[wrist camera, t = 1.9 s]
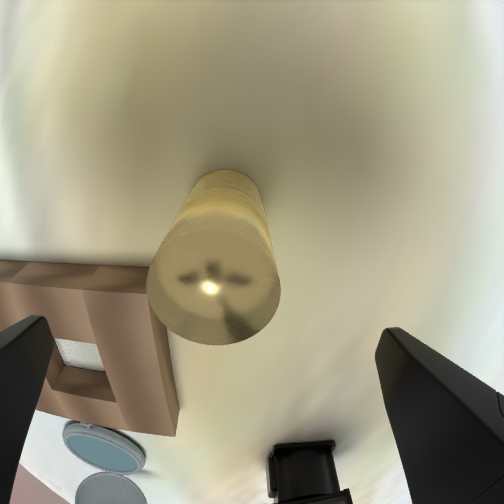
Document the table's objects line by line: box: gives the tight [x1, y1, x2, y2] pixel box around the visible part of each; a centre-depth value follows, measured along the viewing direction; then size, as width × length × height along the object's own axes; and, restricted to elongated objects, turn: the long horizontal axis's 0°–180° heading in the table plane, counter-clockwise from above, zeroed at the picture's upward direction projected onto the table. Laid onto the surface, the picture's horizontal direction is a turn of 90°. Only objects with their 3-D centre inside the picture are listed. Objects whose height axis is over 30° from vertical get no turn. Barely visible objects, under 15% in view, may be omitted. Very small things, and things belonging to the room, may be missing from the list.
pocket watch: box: [62, 422, 147, 504], centre depth 24 cm, size 10×11×15 cm
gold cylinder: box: [146, 170, 281, 345], centre depth 13 cm, size 4×4×9 cm
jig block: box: [0, 260, 179, 437], centre depth 20 cm, size 14×14×3 cm
